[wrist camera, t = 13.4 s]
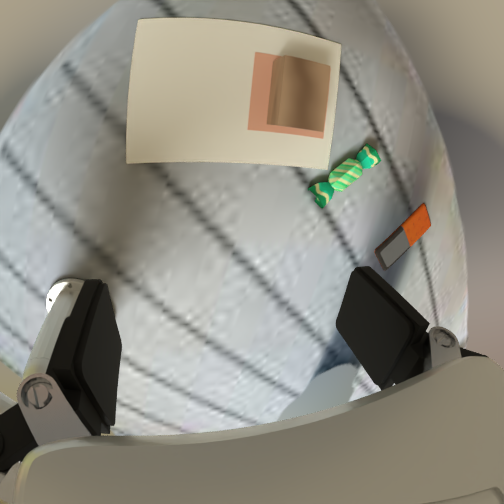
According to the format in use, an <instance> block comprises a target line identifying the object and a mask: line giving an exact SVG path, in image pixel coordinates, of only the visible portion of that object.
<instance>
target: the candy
mask: <svg viewBox="0 0 504 504" xmlns="http://www.w3.org/2000/svg"><path fill="white" fill-rule="evenodd" d="M380 161H381V159H380V157H379V155H378V153H377V151H376V150H375V149H374V148H372V147H371V146H370V145H368V144H367V143H366V145H365V146H364V148H363V149H362V150H361V151H360V152H359V153H358V154H357V157H356V160H354V159H350V158H349V159H347V160H346V161H345V162H343V163H342V164H341V165H340V166H338V167H337V168H336V169H334V170H333V171H332V172H331V173H330V174H329V178H328V182H322V183H317V184H315V185H314V186H312V187H310V188H308V190H310V191H311V192H312V193H313V194H315V195H316V196H317V197H316V200H315V202H316V203H317V204H318V205H319V206H320V207H321V208H323V207H324V206H325V205H326V204H327V203H328V202H329V201H330V200H331V199H332V196H333V193H334V190H336V191H341V192H342V191H343V190H344V189H345V188H347V187H348V186H349V185H350V184H352V183H353V182H354V181H355V180H357V179H358V178H359V177H360V176H361V175H362V169H364V168H371V167H373V166H375V165H377V164H378V163H379V162H380Z"/></svg>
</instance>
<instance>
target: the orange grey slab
mask: <svg viewBox="0 0 504 504" xmlns="http://www.w3.org/2000/svg"><path fill="white" fill-rule="evenodd" d="M430 226H431V223H430V219H429V216H428V212H427V209H426V206H425V204H421V205H420V206H419V207H418V209H417V210H416V211H415V212H414V213H413V214H412V215H411V216H410V217H409V218H408V219H407V220H406V221H405V222H404V223H403V224H401V225H400V226H399V227H398V228H397V229H396V230H395V231H394V232H393V233H392V234H391V235H390V236H389V237H388V238H387V239H386V240H385V241H384V242H383V243H382V244H381V245H379V246H378V247H377V248H376V249H375V251H374V252H375V255H376V256H377V258H378V260H379V262H380V264H381V266H382V268H383V270H387V269H388V268H389V267H390V266H391V265H392V264H394V263H395V262H396V261H397V260H398V259H399V258H400V257H401V256H402V255H403V254H404V253H405V252H406V251H407V250H408V249H409V248H410V247H411V246H412V245H413V244H414V243H415V242H416V241H417V240H418V239H419V238H420V237H421V236H422V235H423V234H424V233H425V232H426V231H427V229H428V228H429V227H430Z"/></svg>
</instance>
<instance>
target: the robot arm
mask: <svg viewBox="0 0 504 504" xmlns="http://www.w3.org/2000/svg"><path fill="white" fill-rule="evenodd" d="M46 305H47V310H48V314H47V317H46V319H45V321H44V323H43V325H42V327H41V330H40V332H39V334H38V337H37V339H36V341H35V344H34V346H33V349H32V351H31V354H30V356H29V359H28V361H27V364H26V367H25V370H24V373H23V381H22V382H21V384H20V385H19V388H18V390H17V400H18V403H17V402H15V401H14V400H12V399H11V398H9V397H7V396H6V395H5V394H3V393H2V392H0V504H504V370H503V369H502V368H501V367H500V366H499V365H498V364H497V363H496V362H495V361H493V360H492V359H490V358H489V357H487V356H486V355H482V354H479V353H476V352H472V351H469V350H466V349H463V348H460V347H459V342H458V340H457V338H456V336H455V335H454V334H453V333H452V332H451V331H449V330H448V329H446V328H443V327H439V326H437V327H433V328H431V329H430V331H429V333H427V332H426V329H427V328H428V326H429V324H430V323H429V322H428V321H427V320H426V319H425V318H424V317H423V316H422V315H421V314H420V313H419V312H418V311H417V310H416V309H415V308H414V307H413V306H412V305H410V304H409V303H408V302H407V301H406V300H405V299H404V298H403V297H402V296H401V295H400V294H399V293H398V292H397V291H396V290H395V289H394V288H393V287H392V286H390V285H389V284H388V283H387V282H386V281H385V280H384V279H383V278H382V277H381V276H380V275H379V274H377V273H376V272H375V271H374V270H373V269H372V268H371V267H369V266H364V267H356V268H355V269H354V271H352V273H351V275H350V279H349V282H348V285H347V289H346V292H345V295H344V298H343V301H342V305H341V308H340V311H339V314H338V317H337V320H336V328H337V330H338V331H339V333H340V334H341V336H342V337H343V338H344V340H345V341H346V343H347V344H348V346H349V347H350V349H351V350H352V351H353V353H354V354H355V356H356V357H357V359H358V360H359V362H360V363H361V364H362V366H363V367H364V369H365V370H366V372H367V373H368V375H369V376H370V378H371V379H372V381H373V382H374V383H375V384H376V385H378V386H379V387H380V389H381V390H382V391H379V392H376V393H374V394H371V395H368V396H366V397H363V398H360V399H357V400H354V401H351V402H348V403H345V404H342V405H339V406H336V407H332V408H329V409H325V410H322V411H318V412H315V413H311V414H307V415H303V416H299V417H296V418H291V419H286V420H282V421H277V422H272V423H267V424H262V425H256V426H251V427H244V428H238V429H231V430H223V431H215V432H205V433H193V434H178V435H157V436H101V433H105V434H110V426H114V425H115V415H116V399H117V387H118V376H119V367H120V359H121V351H122V343H121V338H120V335H119V331H118V327H117V324H116V320H115V316H114V312H113V308H112V304H111V299H110V295H109V290H108V286H107V284H106V283H102V281H101V280H100V279H91V280H85V281H83V280H79V279H72V278H68V279H63V280H60V281H58V282H57V283H55V284H54V285H53V286H52V287H51V289H50V291H49V293H48V295H47V299H46ZM394 383H395V384H396V385H394V386H393V384H394Z"/></svg>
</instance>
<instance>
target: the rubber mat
mask: <svg viewBox="0 0 504 504" xmlns="http://www.w3.org/2000/svg"><path fill="white" fill-rule="evenodd" d="M284 55H288V56H293V57H297V58H302V59H306V60H310V61H314V62H318V63H322V64H325V65H329V66H330V77H329V87H328V96H327V105H326V114H325V122H324V130H323V132H319V131H312V130H306V129H299V128H292V127H285V126H277V125H268V124H267V114H268V105H269V95H270V86H271V76H272V66H273V61H275V60H277V59H278V58H280V57H282V56H284ZM340 55H341V44H338V43H335V42H332V41H329V40H325V39H322V38H319V37H315V36H311V35H308V34H304V33H300V32H296V31H291V30H287V29H282V28H277V27H272V26H267V25H261V24H254V23H248V22H240V21H231V20H221V19H207V18H151V19H138V24H137V29H136V35H135V41H134V48H133V55H132V63H131V72H130V81H129V93H128V107H127V129H126V164H132V163H155V162H229V163H253V164H270V165H284V166H296V167H306V168H316V169H325V170H328V164H329V157H330V150H331V143H332V135H333V127H334V119H335V110H336V101H337V91H338V80H339V68H340Z"/></svg>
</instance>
